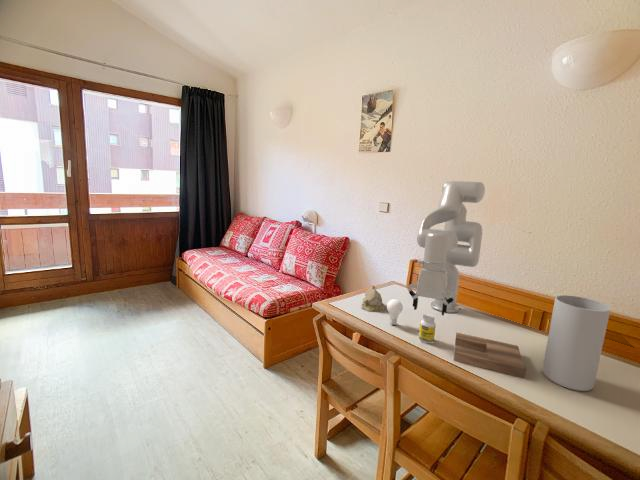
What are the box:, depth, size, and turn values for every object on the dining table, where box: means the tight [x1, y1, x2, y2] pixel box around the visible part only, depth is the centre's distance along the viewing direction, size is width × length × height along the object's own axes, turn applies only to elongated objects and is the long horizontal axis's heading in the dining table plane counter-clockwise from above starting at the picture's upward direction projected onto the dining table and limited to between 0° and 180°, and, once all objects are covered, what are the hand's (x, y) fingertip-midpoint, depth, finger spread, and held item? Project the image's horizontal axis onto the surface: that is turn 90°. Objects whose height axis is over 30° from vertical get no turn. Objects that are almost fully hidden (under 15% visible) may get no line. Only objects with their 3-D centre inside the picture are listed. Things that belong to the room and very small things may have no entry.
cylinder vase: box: [541, 294, 611, 392], centre depth 93 cm, size 12×12×25 cm
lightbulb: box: [386, 298, 404, 326], centre depth 127 cm, size 6×6×11 cm
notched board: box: [453, 332, 526, 379], centre depth 106 cm, size 16×20×3 cm
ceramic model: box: [361, 285, 385, 312], centre depth 147 cm, size 14×11×10 cm
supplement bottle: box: [418, 313, 437, 344], centre depth 115 cm, size 5×5×10 cm
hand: (428, 311), depth 114 cm, fingers open, 9 cm apart
